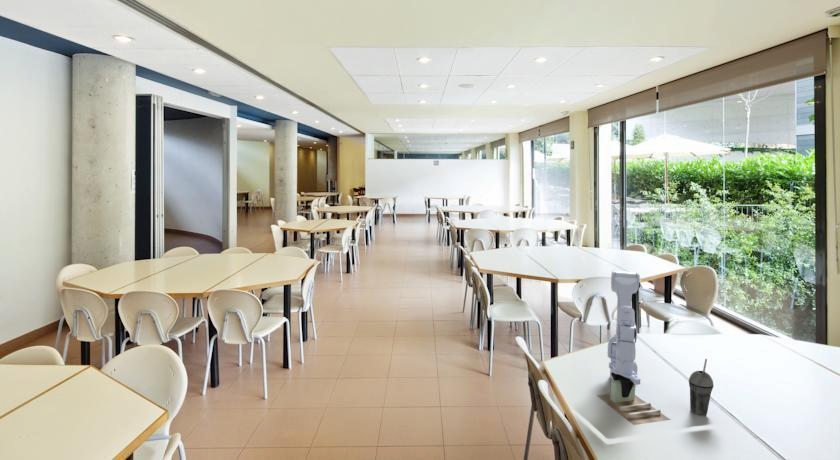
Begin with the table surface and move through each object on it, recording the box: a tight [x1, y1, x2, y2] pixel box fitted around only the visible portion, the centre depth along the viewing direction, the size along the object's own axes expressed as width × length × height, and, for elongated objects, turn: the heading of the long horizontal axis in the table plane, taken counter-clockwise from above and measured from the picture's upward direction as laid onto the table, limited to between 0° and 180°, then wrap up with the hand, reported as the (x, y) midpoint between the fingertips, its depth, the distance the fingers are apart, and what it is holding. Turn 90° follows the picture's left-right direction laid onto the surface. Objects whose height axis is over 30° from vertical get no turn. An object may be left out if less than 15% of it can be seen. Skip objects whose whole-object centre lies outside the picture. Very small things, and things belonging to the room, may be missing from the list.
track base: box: [596, 393, 671, 426], centre depth 158 cm, size 14×20×3 cm
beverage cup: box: [688, 358, 714, 417], centre depth 154 cm, size 7×7×20 cm
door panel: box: [610, 380, 636, 403], centre depth 163 cm, size 8×2×7 cm, turn 103°
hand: (622, 394), depth 163 cm, fingers closed on door panel, 2 cm apart
